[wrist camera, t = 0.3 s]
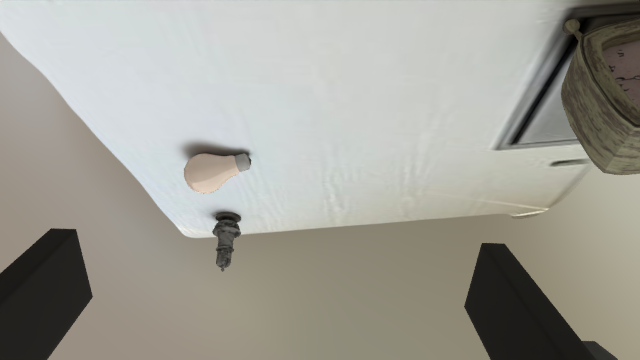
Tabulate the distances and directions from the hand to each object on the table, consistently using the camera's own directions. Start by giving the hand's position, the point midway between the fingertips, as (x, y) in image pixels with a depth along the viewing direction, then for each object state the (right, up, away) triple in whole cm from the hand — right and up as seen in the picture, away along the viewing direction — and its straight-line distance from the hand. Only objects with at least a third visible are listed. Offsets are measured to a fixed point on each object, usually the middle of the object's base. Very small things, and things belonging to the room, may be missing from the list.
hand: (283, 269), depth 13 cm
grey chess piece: (-19, -5, +71) cm, 74 cm away
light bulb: (-16, +7, +52) cm, 55 cm away
